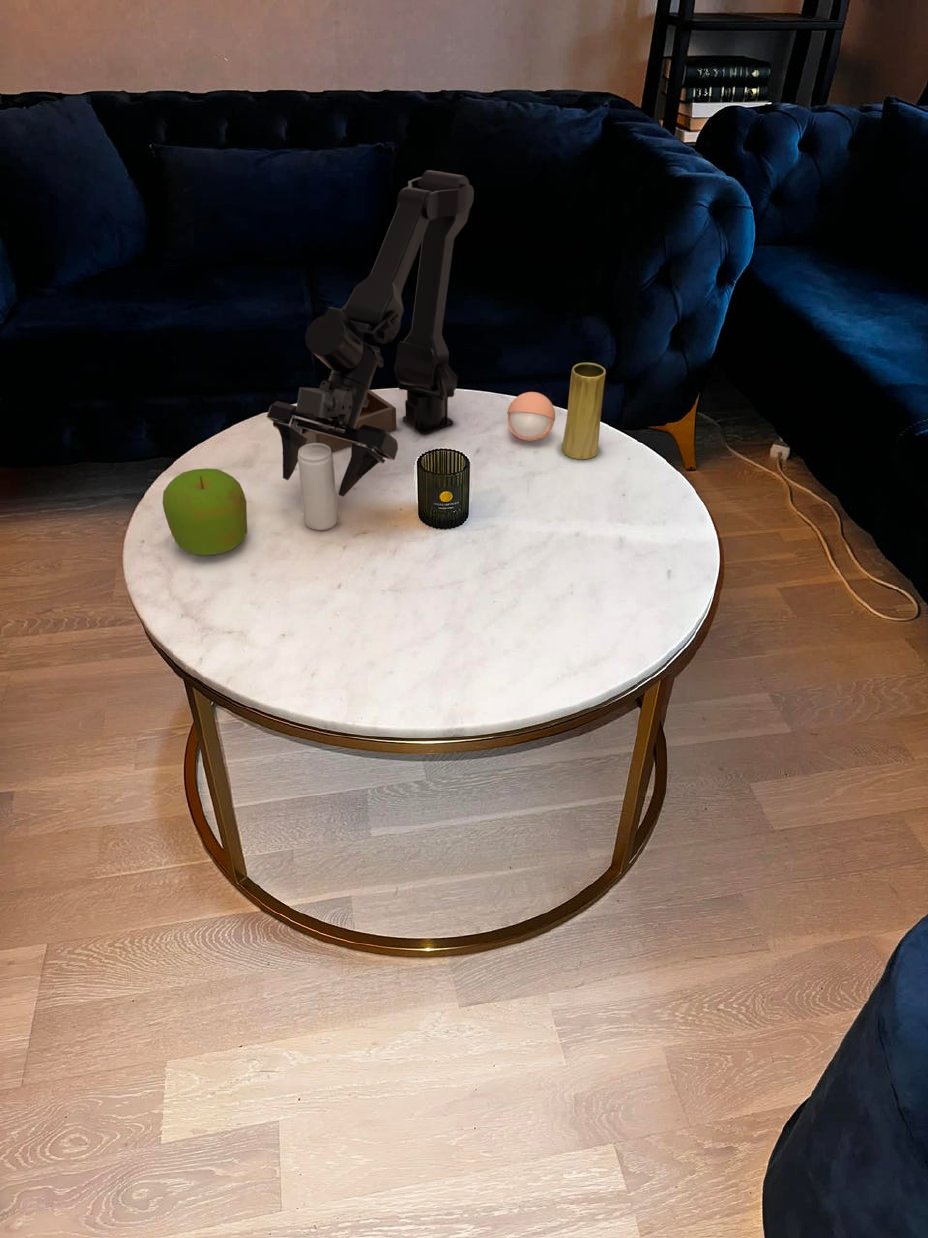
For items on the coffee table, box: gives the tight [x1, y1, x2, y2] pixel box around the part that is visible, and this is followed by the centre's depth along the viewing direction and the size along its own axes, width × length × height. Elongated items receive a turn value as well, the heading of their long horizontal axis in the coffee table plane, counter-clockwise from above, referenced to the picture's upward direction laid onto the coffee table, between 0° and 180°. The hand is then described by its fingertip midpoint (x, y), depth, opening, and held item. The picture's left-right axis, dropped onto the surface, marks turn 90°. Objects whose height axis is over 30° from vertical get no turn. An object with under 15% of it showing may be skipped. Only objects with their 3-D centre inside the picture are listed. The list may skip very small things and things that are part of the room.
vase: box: [560, 362, 607, 460], centre depth 150 cm, size 6×6×14 cm
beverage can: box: [297, 443, 339, 531], centre depth 134 cm, size 5×5×12 cm
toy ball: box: [506, 391, 556, 442], centre depth 155 cm, size 8×8×8 cm
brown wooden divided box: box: [303, 389, 397, 453], centre depth 156 cm, size 15×8×4 cm, turn 127°
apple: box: [161, 467, 248, 556], centre depth 130 cm, size 11×11×11 cm
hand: (312, 487), depth 132 cm, fingers open, 9 cm apart
